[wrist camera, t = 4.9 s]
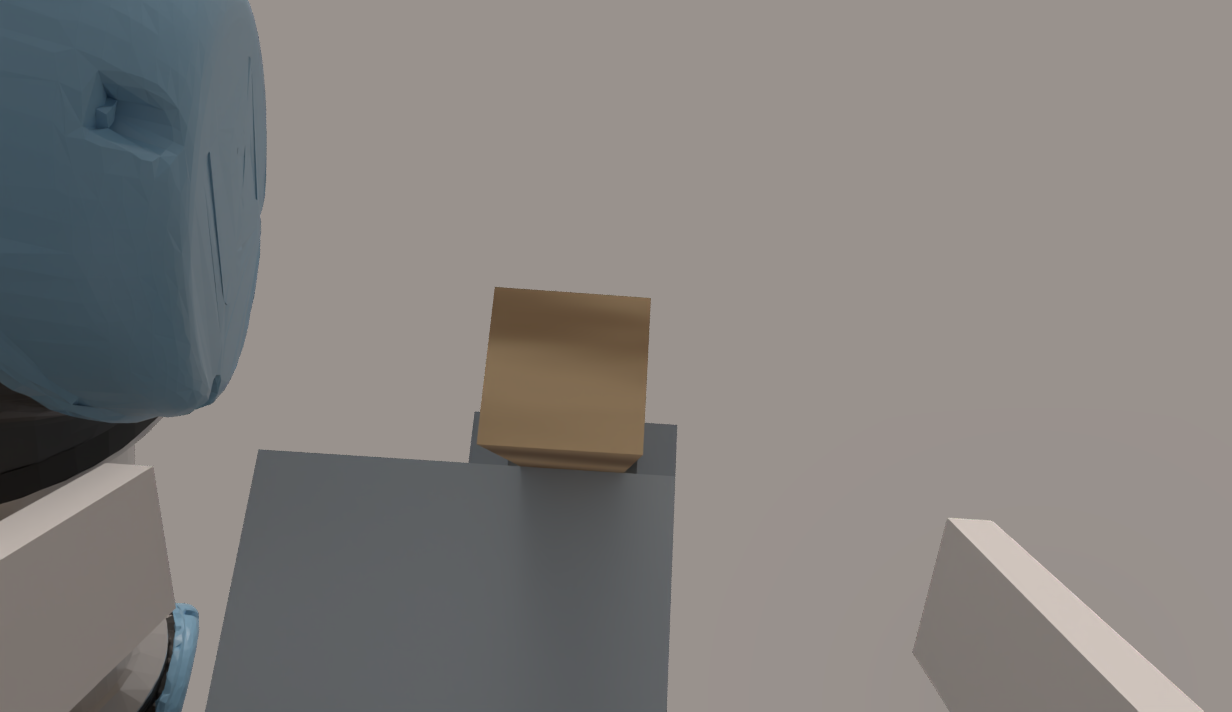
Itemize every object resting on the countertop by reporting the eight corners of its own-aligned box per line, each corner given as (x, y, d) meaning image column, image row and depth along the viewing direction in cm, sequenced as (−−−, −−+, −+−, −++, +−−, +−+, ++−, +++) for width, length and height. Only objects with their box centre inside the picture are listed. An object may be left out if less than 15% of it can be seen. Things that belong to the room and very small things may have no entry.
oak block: (642, 455, 14) (651, 298, 15) (476, 444, 14) (494, 287, 15) (611, 484, 37) (615, 419, 38) (546, 479, 37) (552, 415, 38)
